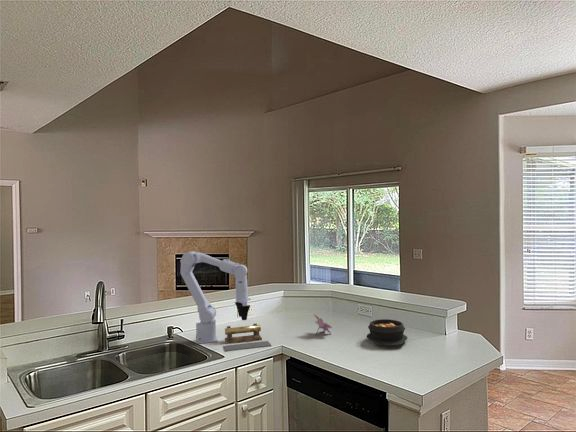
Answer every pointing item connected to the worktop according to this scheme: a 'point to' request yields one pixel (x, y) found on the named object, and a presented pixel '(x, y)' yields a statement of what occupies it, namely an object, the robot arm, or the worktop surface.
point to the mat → (247, 346)
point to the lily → (322, 324)
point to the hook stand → (243, 337)
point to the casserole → (386, 332)
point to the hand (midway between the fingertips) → (242, 318)
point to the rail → (242, 329)
